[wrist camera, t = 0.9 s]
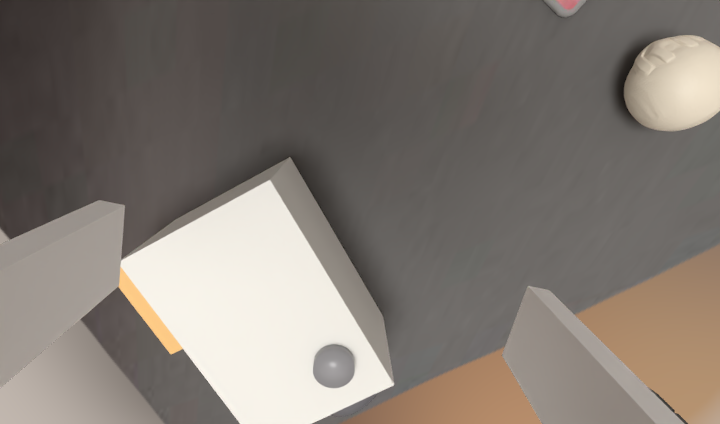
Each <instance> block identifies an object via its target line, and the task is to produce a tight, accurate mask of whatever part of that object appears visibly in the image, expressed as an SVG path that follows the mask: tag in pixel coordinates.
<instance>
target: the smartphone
mask: <svg viewBox="0 0 720 424" xmlns="http://www.w3.org/2000/svg"><path fill="white" fill-rule="evenodd" d="M543 1H544V2H545V3H546V4H547V5H548V6H549V7H550V8H551V9H552V10H553V11H554V12H555V13H556V14H557V15H558V16H560V17H569V16H572V15H573V14H575V13H576V12H577V11H578V10H579V9H580V7H581V6H582V5H583V4H584V3H585V2H586V1H587V0H543Z"/></svg>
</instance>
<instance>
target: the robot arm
mask: <svg viewBox="0 0 720 424" xmlns="http://www.w3.org/2000/svg"><path fill="white" fill-rule="evenodd" d="M124 211H125V205H121V204H116V203H111V202H106V201H101V200H98V201H96V202H94V203H92V204H89V205H87V206H85V207H83V208H80V209H78V210H76V211H74V212H71V213H69V214H67V215H65V216H62V217H60V218H58V219H56V220H53V221H51V222H49V223H47V224H44V225H42V226H40V227H38V228H36V229H33V230H31V231H29V232H27V233H24V234H22V235H20V236H18V237H15V238H13V239H11V240H9V241H6V242H4V243H2V244H0V388H1V387H2V386H3V385H4V384H6V383H7V382H8V381H9V380H10V379H11V378H12V377H14V376H15V375H16V374H17V373H18V372H20V371H21V370H22V369H23V368H24V367H25V366H27V365H28V364H29V363H30V362H31V361H32V360H33V359H35V358H36V357H37V356H38V355H39V354H40V353H42V352H43V351H44V350H45V349H46V348H47V347H49V346H50V345H51V344H52V343H53V342H54V341H56V340H57V339H58V338H59V337H60V336H61V335H62V334H64V333H65V332H66V331H67V330H68V329H69V328H70V327H72V326H73V325H74V324H75V323H76V322H78V321H79V320H80V319H81V318H82V317H83V316H84V315H86V314H87V313H88V312H89V311H90V310H91V309H93V308H94V307H95V306H96V305H97V304H98V303H100V302H101V301H102V300H103V299H104V298H105V297H107V296H108V295H109V294H110V293H111V292H112V291H113V290H115V289H116V288H117V287H118V286H119V280H120V266H121V252H122V239H123V225H124ZM502 356H503V358H504V360H505V361H506V363H507V365H508V366H509V368H510V370H511V372H512V373H513V375H514V377H515V378H516V380H517V382H518V383H519V385H520V387H521V389H522V390H523V392H524V394H525V395H526V397H527V399H528V400H529V402H530V404H531V405H532V407H533V409H534V411H535V412H536V414H537V416H538V418H539V419H540V421H541V423H542V424H688V423H687V422H686V421H685V420H684V419H683V418H682V417H681V416H680V415H679V414H676V413H675V412H674V409H672V408H671V407H670V406H669V405H668V404H667V403H666V402H665V401H664V400H663V399H662V398H661V397H660V396H659V395H658V394H657V393H655V392H654V391H653V390H651V389H649V388H648V387H647V386H646V385H645V384H644V383H643V382H642V381H641V380H640V379H639V378H638V377H637V376H636V375H635V374H634V373H633V372H632V371H630V369H629V368H628V367H627V366H625V364H624V363H623V362H622V361H620V359H619V358H618V357H616V356H615V355H614V354H613V353H612V352H611V351H610V350H609V349H608V348H607V347H606V346H605V345H604V344H603V343H602V342H601V341H600V340H599V339H598V338H597V337H596V336H595V335H594V334H593V333H592V332H591V331H590V330H589V329H588V328H587V327H586V326H585V325H584V324H583V323H582V322H581V321H580V320H579V319H578V318H577V317H576V316H575V315H574V314H573V313H572V312H571V311H570V310H569V309H568V308H567V307H566V306H565V305H564V304H563V303H562V302H561V301H560V300H559V299H558V298H557V297H556V296H555V295H554V294H553V293H552V292H551V291H550V290H546V289H541V288H536V287H531V286H528V287H527V290H526V292H525V295H524V298H523V300H522V303H521V306H520V308H519V311H518V314H517V316H516V319H515V322H514V324H513V327H512V330H511V333H510V335H509V338H508V341H507V343H506V346H505V349H504V351H503V354H502Z"/></svg>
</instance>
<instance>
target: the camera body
mask: <svg viewBox="0 0 720 424" xmlns="http://www.w3.org/2000/svg"><path fill="white" fill-rule="evenodd" d="M120 267H121V268H122V269H123V270H124V272H125V273H126V274H127V276H128V277H129V278H130V280H131V281H132V282H133V284H134V285H135V286H136V288H137V289H138V290H139V291H140V293H141V294H142V295H143V297H144V298H145V299H146V301H147V302H148V303H149V305H150V306H151V307H152V309H153V310H154V311H155V312H156V314H157V315H158V316H159V318H160V319H161V320H162V322H163V323H164V324H165V326H166V327H167V328H168V330H169V331H170V332H171V333H172V335H173V336H174V337H175V339H176V340H177V341H178V343H179V344H180V345H181V347H182V348H183V349H184V351H185V352H186V353H187V354H188V356H189V357H190V358H191V360H192V361H193V362H194V364H195V365H196V366H197V368H198V369H199V370H200V372H201V373H202V374H203V375H204V377H205V378H206V379H207V381H208V382H209V383H210V385H211V386H212V387H213V389H214V390H215V391H216V393H217V394H218V395H219V396H220V398H221V399H222V400H223V402H224V403H225V404H226V406H227V407H228V408H229V410H230V411H231V412H232V414H233V415H234V416H235V418H236V419H237V420H238V421H239V423H240V424H312V423H314V422H316V421H318V420H320V419H322V418H324V417H327V416H329V415H331V416H334V417H345V416H349V415H351V414H354V413H356V412H358V411H360V410H361V409H363V408H364V407H365V406H367V405H368V404H369V403H370V402H371V401H372V400H373V399H374V398H375V396H376V395H377V394H378V392H380V391H382V390H385V389H387V388H389V387H391V386H393V385H394V379H393V373H392V367H391V361H390V355H389V349H388V343H387V337H386V331H385V324H384V318H383V315H382V314H381V312H380V310H379V308H378V307H377V305H376V303H375V302H374V300H373V298H372V296H371V295H370V293H369V291H368V290H367V288H366V286H365V284H364V283H363V281H362V279H361V278H360V276H359V274H358V272H357V271H356V269H355V267H354V266H353V264H352V262H351V260H350V259H349V257H348V255H347V254H346V252H345V250H344V248H343V247H342V245H341V243H340V242H339V240H338V238H337V236H336V235H335V233H334V231H333V229H332V228H331V226H330V224H329V223H328V221H327V219H326V217H325V216H324V214H323V212H322V211H321V209H320V207H319V205H318V204H317V202H316V200H315V199H314V197H313V195H312V193H311V192H310V190H309V188H308V187H307V185H306V183H305V181H304V180H303V178H302V176H301V175H300V173H299V171H298V169H297V168H296V166H295V164H294V163H293V161H292V159H291V157H289V158H287V159H285V160H284V161H282V162H280V163H278V164H276V165H274V166H273V167H271V168H269V169H267V170H265V171H263V172H262V173H260V174H258V175H256V176H254V177H252V178H251V179H249V180H247V181H245V182H243V183H241V184H240V185H238V186H236V187H234V188H232V189H230V190H229V191H227V192H225V193H223V194H221V195H219V196H218V197H216V198H214V199H212V200H210V201H208V202H207V203H205V204H203V205H201V206H199V207H197V208H196V209H194V210H192V211H190V212H188V213H186V214H185V215H183V216H181V217H179V218H177V219H176V220H174V221H173V222H171V223H170V224H169V225H167V226H166V227H165V228H163V229H162V230H161V231H159V232H158V233H157V234H155V235H154V236H152V237H151V238H150V239H148V240H147V241H146V242H144V243H143V244H142V245H140V246H139V247H138V248H136V249H135V250H134V251H132V252H131V253H129V254H128V255H127V256H125V257H124V258H123V259H121V266H120Z"/></svg>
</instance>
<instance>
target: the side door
mask: <svg viewBox="0 0 720 424" xmlns="http://www.w3.org/2000/svg"><path fill="white" fill-rule="evenodd" d="M118 287H119V288H120V289H121V291H122V292H123V293H124V295H125V296H126V297H127V299H128V300H129V301H130V302H131V304H132V305H133V306H134V308H135V309H136V310H137V311H138V313H139V314H140V315H141V317H142V318H143V319H144V320H145V322H146V323H147V324H148V326H149V327H150V328H151V329H152V331H153V332H154V333H155V335H156V336H157V337H158V338H159V340H160V341H161V342H162V344H163V345H164V346H165V348H166V349H167V350H168V351H169V353H170V354H173V353H175V352H177V351H179V350H181V349H183V348H182V347H181V345H180V344H179V343H178V341H177V340H176V339H175V337H174V336H173V335H172V333H171V332H170V331H169V330H168V328H167V327H166V326H165V324H164V323H163V322H162V320H161V319H160V318H159V316H158V315H157V314H156V312H155V311H154V310H153V309H152V307H151V306H150V305H149V303H148V302H147V301H146V299H145V298H144V297H143V295H142V294H141V293H140V291H139V290H138V289H137V288H136V286H135V285H134V284H133V282H132V281H131V280H130V278H129V277H128V276H127V274H126V273H125V272H124V270H123V269H122V268H121V267H120V280H119V286H118Z"/></svg>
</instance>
